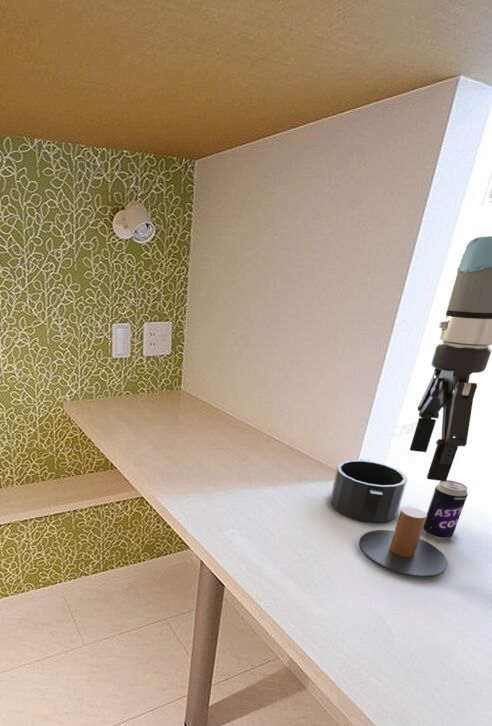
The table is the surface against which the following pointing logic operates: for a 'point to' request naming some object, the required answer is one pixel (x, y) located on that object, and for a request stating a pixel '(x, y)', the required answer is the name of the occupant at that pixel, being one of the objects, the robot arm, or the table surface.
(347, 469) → the tin
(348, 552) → the table surface
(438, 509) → the beverage can
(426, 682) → the table surface
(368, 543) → the tin lid
